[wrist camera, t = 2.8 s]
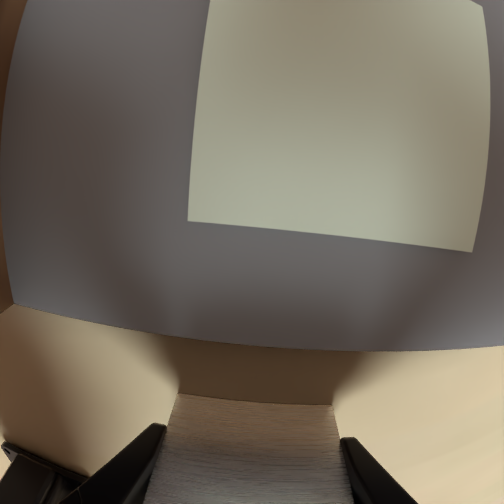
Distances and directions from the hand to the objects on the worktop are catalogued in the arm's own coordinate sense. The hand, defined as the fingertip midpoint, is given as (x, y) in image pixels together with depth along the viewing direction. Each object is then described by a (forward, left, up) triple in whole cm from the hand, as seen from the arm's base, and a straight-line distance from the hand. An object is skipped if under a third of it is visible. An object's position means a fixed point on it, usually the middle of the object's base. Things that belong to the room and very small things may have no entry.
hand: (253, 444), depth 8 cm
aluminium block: (-2, 0, -2) cm, 3 cm away
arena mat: (+11, 0, -2) cm, 11 cm away
